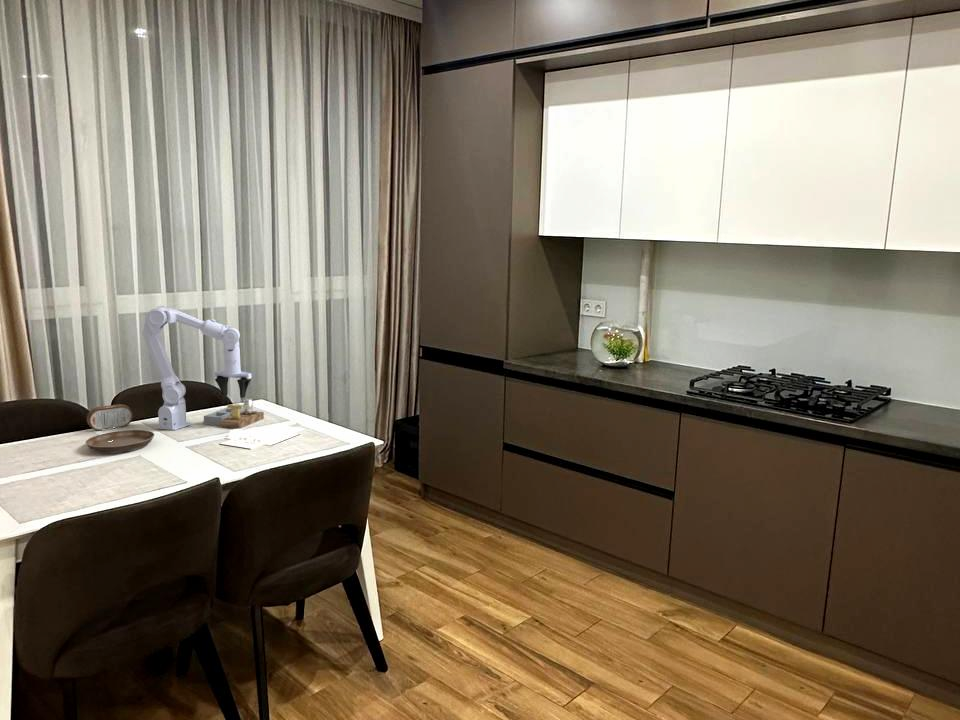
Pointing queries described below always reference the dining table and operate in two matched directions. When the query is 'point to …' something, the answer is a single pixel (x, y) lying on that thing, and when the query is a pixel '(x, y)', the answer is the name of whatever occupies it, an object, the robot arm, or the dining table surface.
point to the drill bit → (248, 407)
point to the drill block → (241, 420)
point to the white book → (260, 436)
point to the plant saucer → (120, 441)
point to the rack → (218, 416)
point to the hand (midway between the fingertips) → (233, 396)
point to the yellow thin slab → (235, 411)
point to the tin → (109, 416)
